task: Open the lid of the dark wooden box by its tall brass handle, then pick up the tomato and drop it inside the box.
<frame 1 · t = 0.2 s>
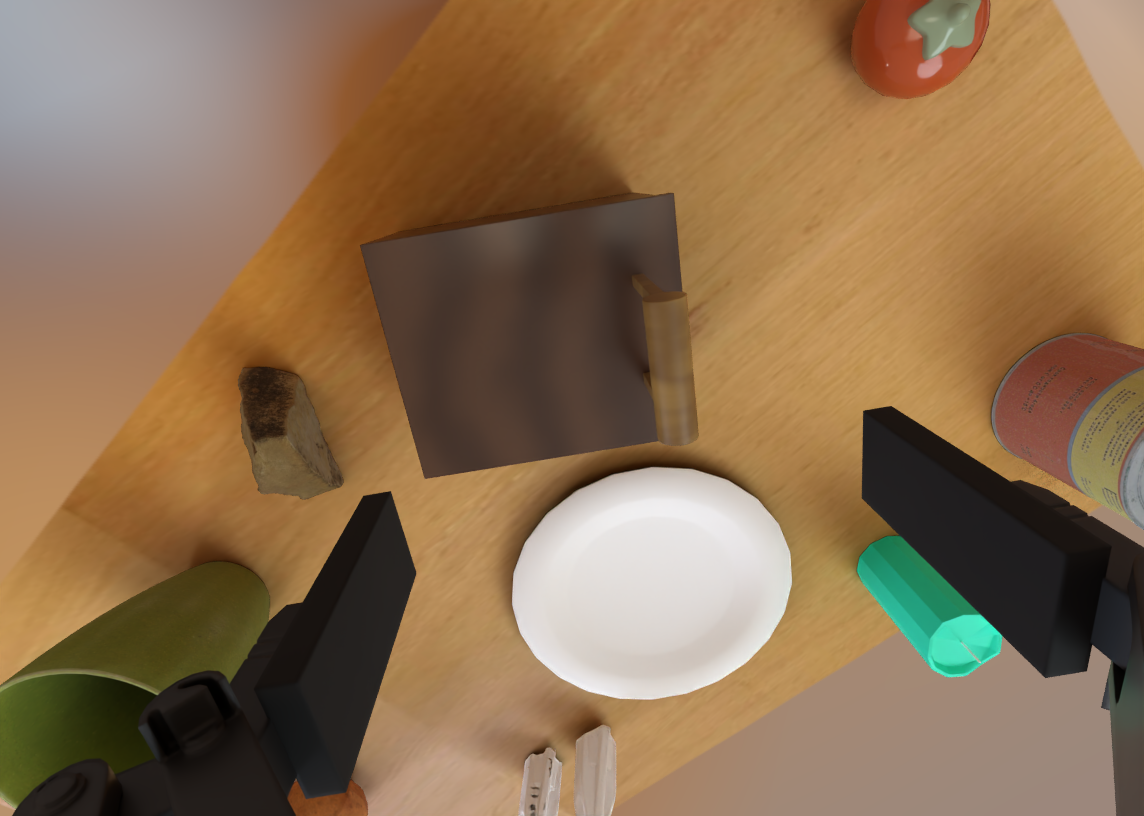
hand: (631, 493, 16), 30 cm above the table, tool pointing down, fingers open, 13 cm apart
tomato: (883, 44, 39), on the table
brown coconut: (327, 786, 61), on the table
candle: (887, 561, 54), on the table
canned food: (1056, 398, 49), on the table
lid: (539, 367, 31), point 14 cm above the table, hinge at 0.0°
shaker set: (568, 745, 61), on the table
dark wooden box: (534, 314, 44), on the table
flower pot: (226, 594, 52), on the table
rock: (300, 428, 47), on the table
plate: (649, 581, 54), on the table
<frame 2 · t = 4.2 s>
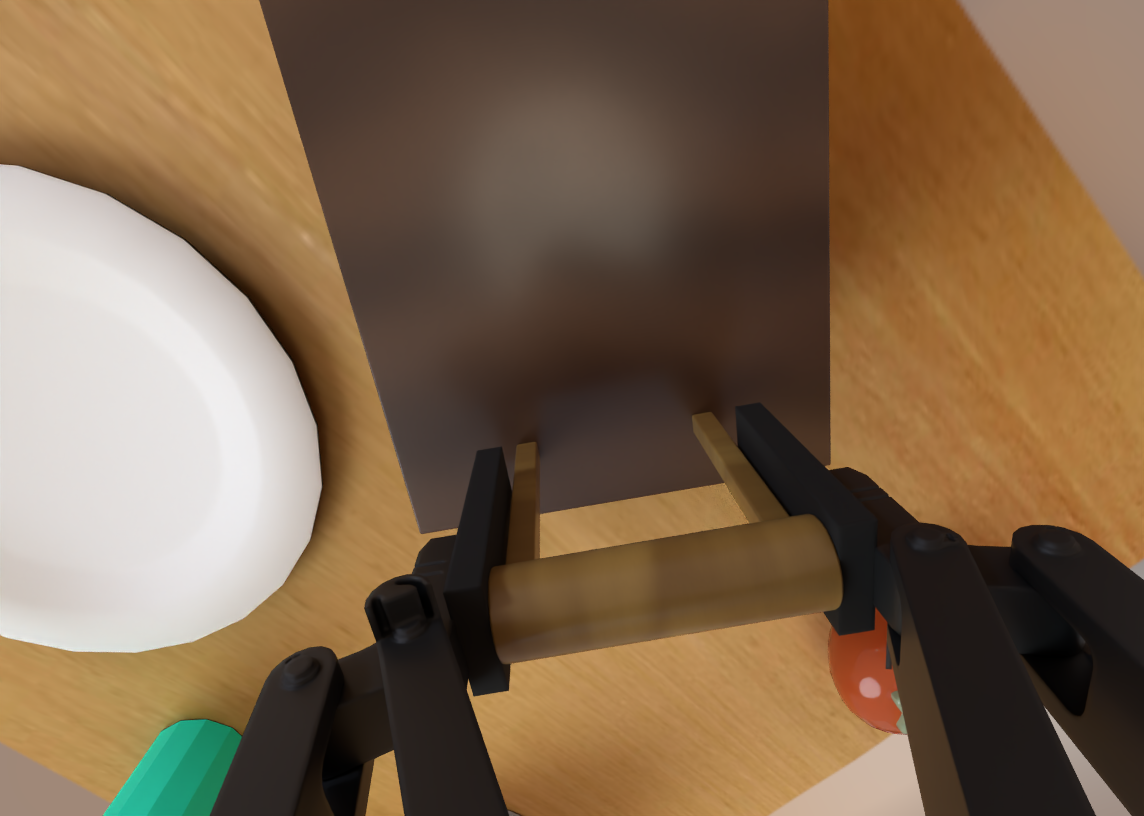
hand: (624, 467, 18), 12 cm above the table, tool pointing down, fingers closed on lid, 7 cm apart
tomato: (864, 617, 36), on the table
candle: (206, 751, 37), on the table
lid: (599, 266, 14), point 14 cm above the table, hinge at 0.0°, touching gripper
plate: (75, 432, 29), on the table
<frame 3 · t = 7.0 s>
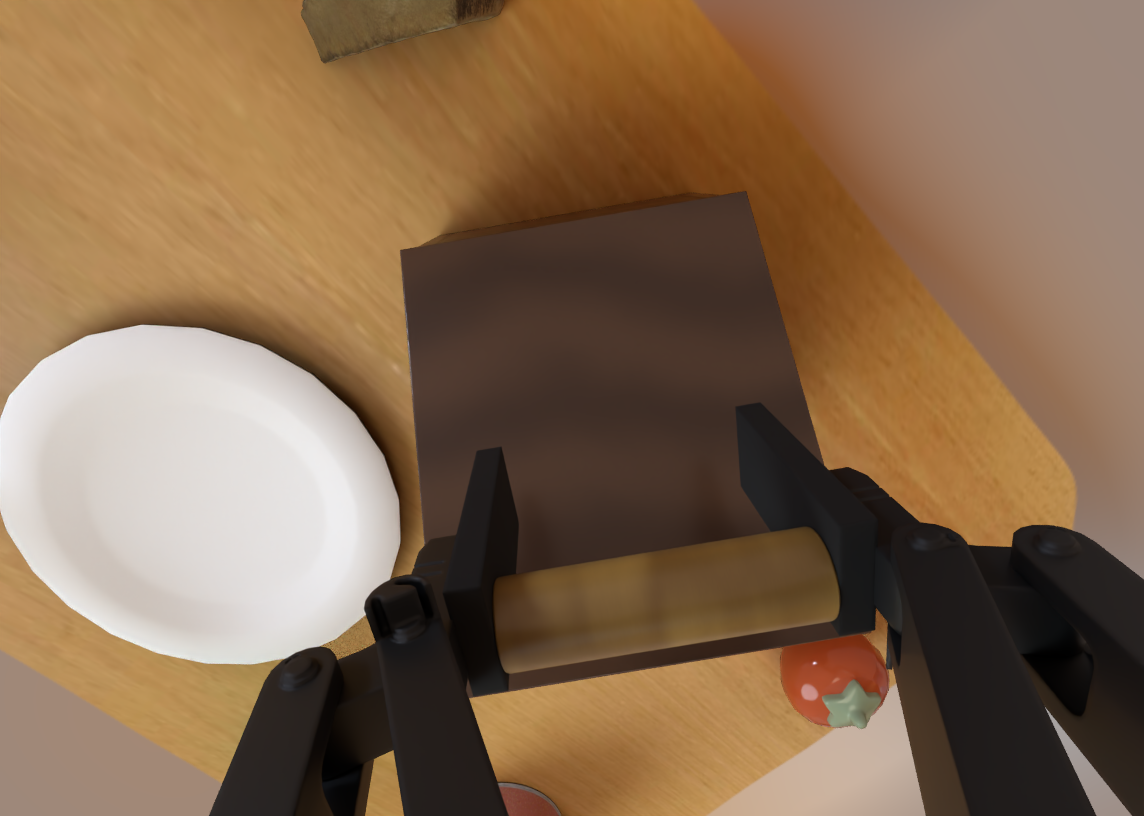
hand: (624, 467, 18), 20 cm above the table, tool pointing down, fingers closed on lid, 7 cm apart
tomato: (810, 637, 46), on the table
lid: (609, 384, 18), point 18 cm above the table, hinge at 37.8°, touching gripper
dark wooden box: (586, 353, 37), on the table
plate: (217, 501, 39), on the table
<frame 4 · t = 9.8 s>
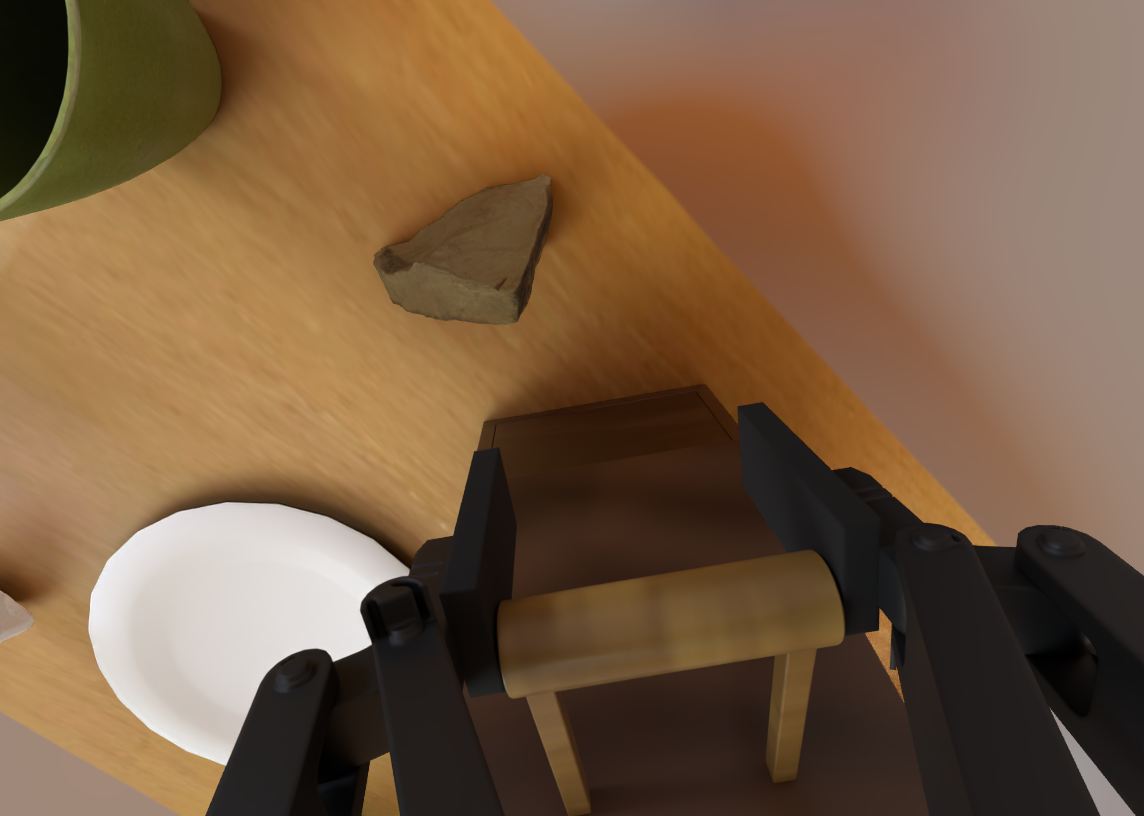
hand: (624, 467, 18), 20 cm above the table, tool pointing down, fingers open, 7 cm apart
lid: (631, 532, 20), point 19 cm above the table, hinge at 76.5°
dark wooden box: (611, 511, 42), on the table
flower pot: (150, 64, 31), on the table
rock: (464, 237, 35), on the table
plate: (282, 635, 44), on the table
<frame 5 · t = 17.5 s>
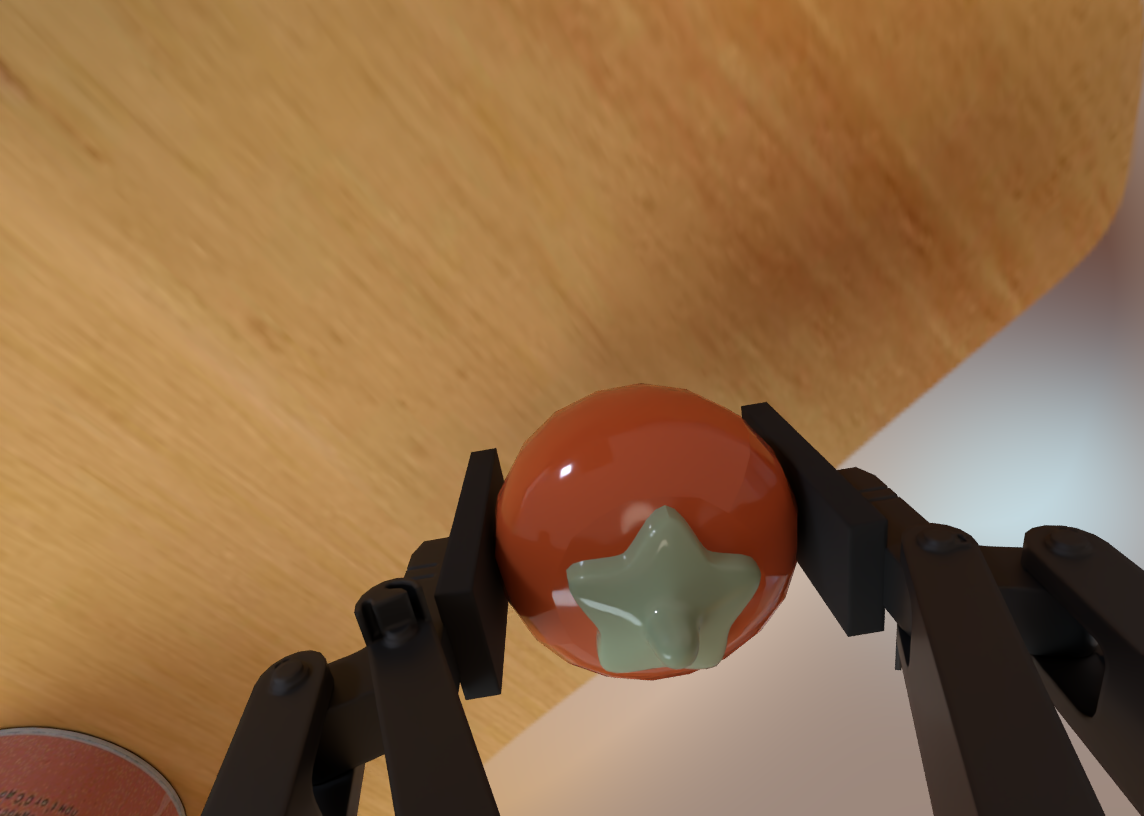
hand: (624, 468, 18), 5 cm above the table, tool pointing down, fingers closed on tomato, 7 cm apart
tomato: (622, 461, 18), point 4 cm above the table, touching gripper
canned food: (63, 810, 28), on the table
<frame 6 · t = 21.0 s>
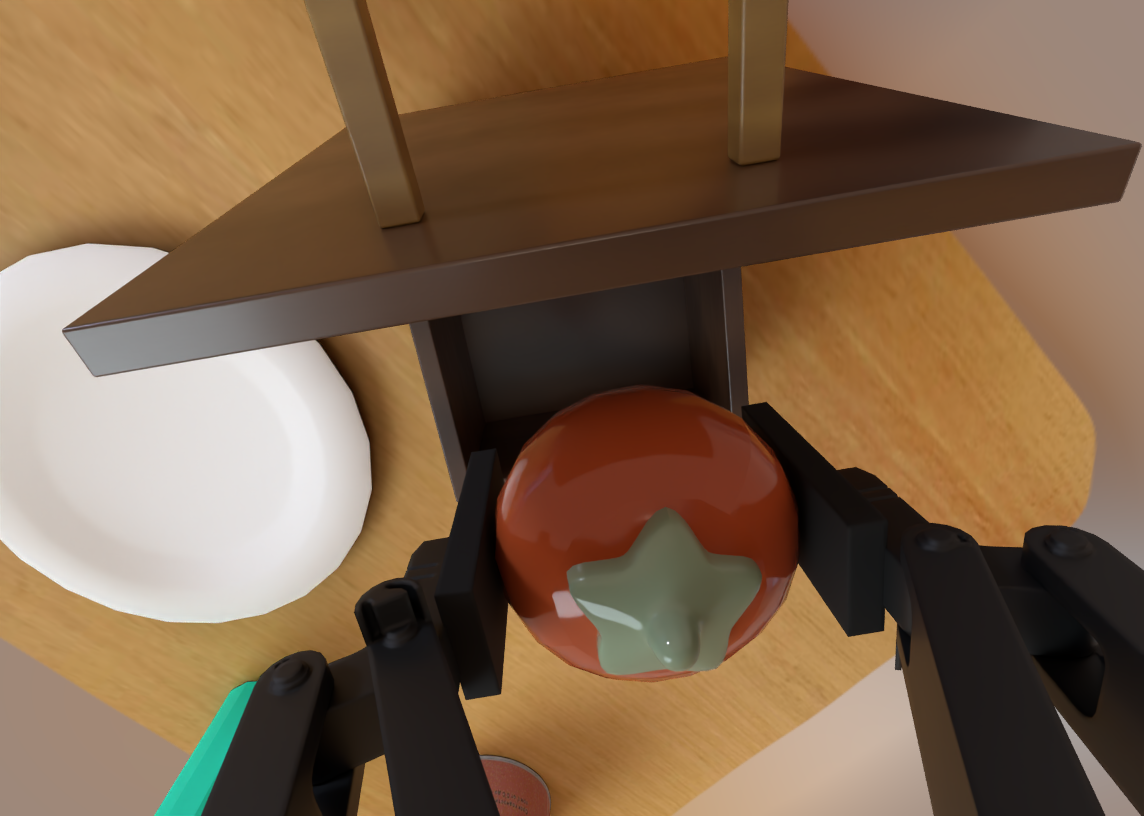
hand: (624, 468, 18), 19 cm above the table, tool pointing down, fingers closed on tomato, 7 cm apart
tomato: (622, 462, 18), point 18 cm above the table, touching gripper
candle: (266, 708, 45), on the table
canned food: (483, 801, 50), on the table
dark wooden box: (568, 281, 34), on the table
plate: (176, 445, 37), on the table
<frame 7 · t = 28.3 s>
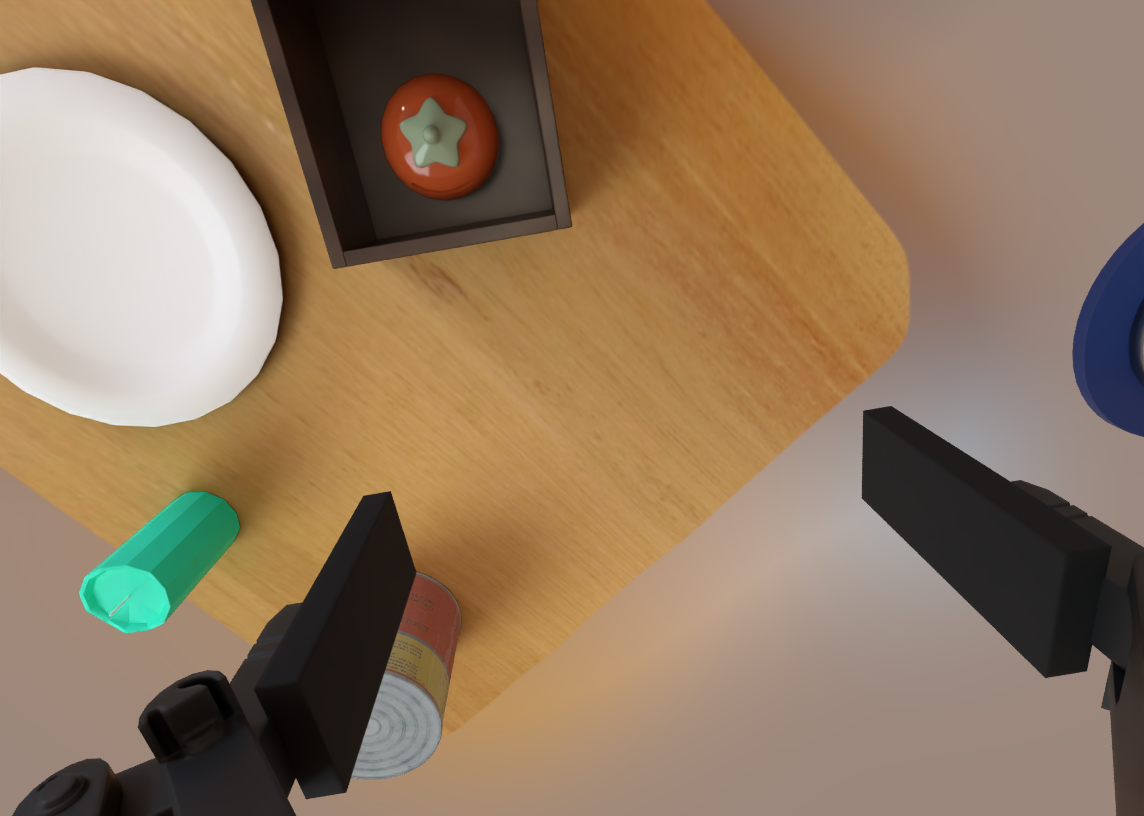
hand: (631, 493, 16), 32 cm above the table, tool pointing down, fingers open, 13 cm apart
tomato: (450, 143, 41), point 1 cm above the table, touching dark wooden box
candle: (205, 520, 52), on the table
canned food: (402, 617, 56), on the table
dark wooden box: (441, 112, 41), on the table
plate: (117, 263, 44), on the table
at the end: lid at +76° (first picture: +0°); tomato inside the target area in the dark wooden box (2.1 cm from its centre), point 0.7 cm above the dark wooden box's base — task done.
